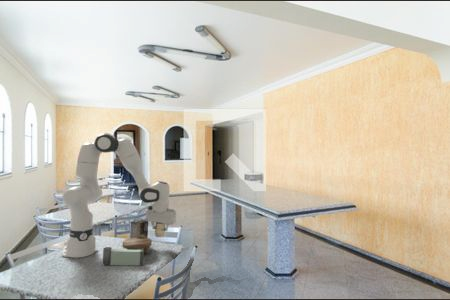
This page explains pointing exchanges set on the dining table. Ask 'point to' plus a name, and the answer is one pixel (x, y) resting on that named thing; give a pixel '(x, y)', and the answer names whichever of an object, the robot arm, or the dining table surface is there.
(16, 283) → the dining table surface
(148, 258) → the dining table surface
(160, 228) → the birch block
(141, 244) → the stool
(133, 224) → the coffee box
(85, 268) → the dining table surface
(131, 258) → the green rectangular block
